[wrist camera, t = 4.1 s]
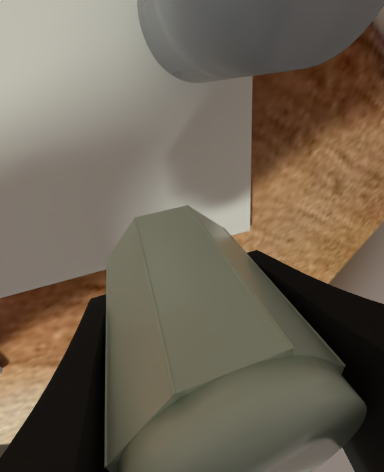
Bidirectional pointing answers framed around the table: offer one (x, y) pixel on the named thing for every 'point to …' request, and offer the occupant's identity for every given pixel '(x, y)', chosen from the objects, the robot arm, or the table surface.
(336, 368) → the sage cup
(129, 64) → the grey mat
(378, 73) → the table surface
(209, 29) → the grey pillar candle
